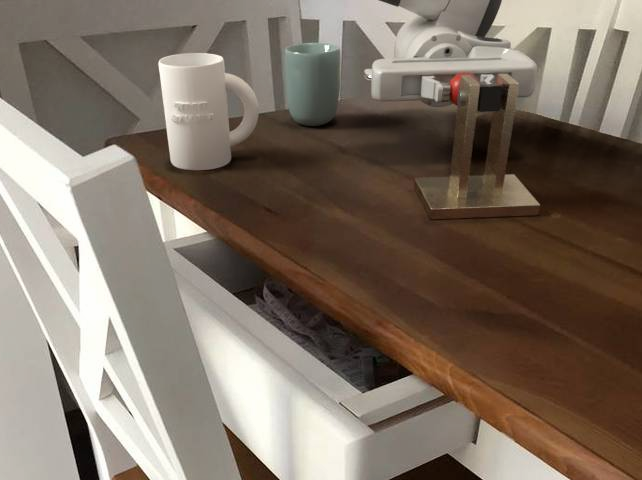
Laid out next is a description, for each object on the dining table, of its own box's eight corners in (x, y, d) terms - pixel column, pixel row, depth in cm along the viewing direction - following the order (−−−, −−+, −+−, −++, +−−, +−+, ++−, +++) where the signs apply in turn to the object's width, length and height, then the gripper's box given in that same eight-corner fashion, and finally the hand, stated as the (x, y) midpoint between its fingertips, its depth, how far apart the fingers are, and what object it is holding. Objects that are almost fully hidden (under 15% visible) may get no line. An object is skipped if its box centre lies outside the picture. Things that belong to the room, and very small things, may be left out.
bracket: (413, 187, 88) (423, 69, 80) (512, 184, 88) (531, 66, 80) (430, 219, 80) (442, 92, 72) (538, 215, 81) (562, 88, 73)
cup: (348, 120, 111) (350, 45, 105) (321, 133, 106) (321, 56, 100) (305, 113, 114) (304, 40, 108) (276, 125, 109) (274, 50, 103)
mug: (263, 168, 94) (258, 64, 87) (169, 172, 93) (156, 68, 86) (259, 148, 101) (254, 50, 93) (171, 152, 100) (159, 54, 92)
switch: (443, 105, 88) (446, 71, 86) (473, 104, 88) (476, 70, 87) (471, 118, 77) (475, 80, 75) (505, 117, 77) (509, 79, 75)
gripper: (362, 43, 94) (377, 66, 83) (520, 39, 95) (555, 61, 84) (360, 96, 98) (375, 125, 87) (512, 92, 99) (545, 119, 88)
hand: (465, 93), depth 85 cm, fingers closed on switch, 3 cm apart
